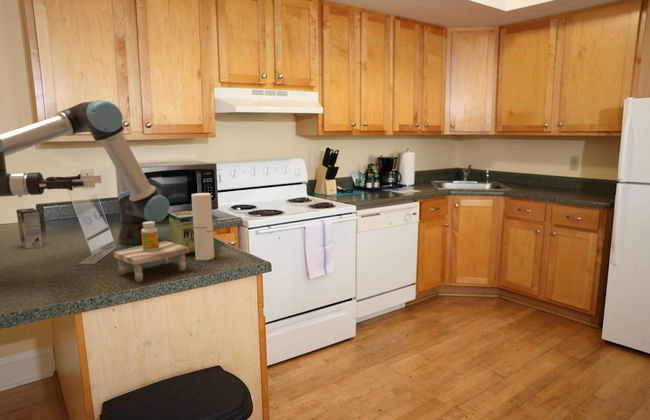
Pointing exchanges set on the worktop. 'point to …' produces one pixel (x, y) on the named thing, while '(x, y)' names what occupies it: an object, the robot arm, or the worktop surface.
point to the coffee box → (29, 227)
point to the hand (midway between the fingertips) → (98, 180)
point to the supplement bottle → (150, 236)
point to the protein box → (182, 230)
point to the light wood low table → (149, 257)
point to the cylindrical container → (203, 226)
